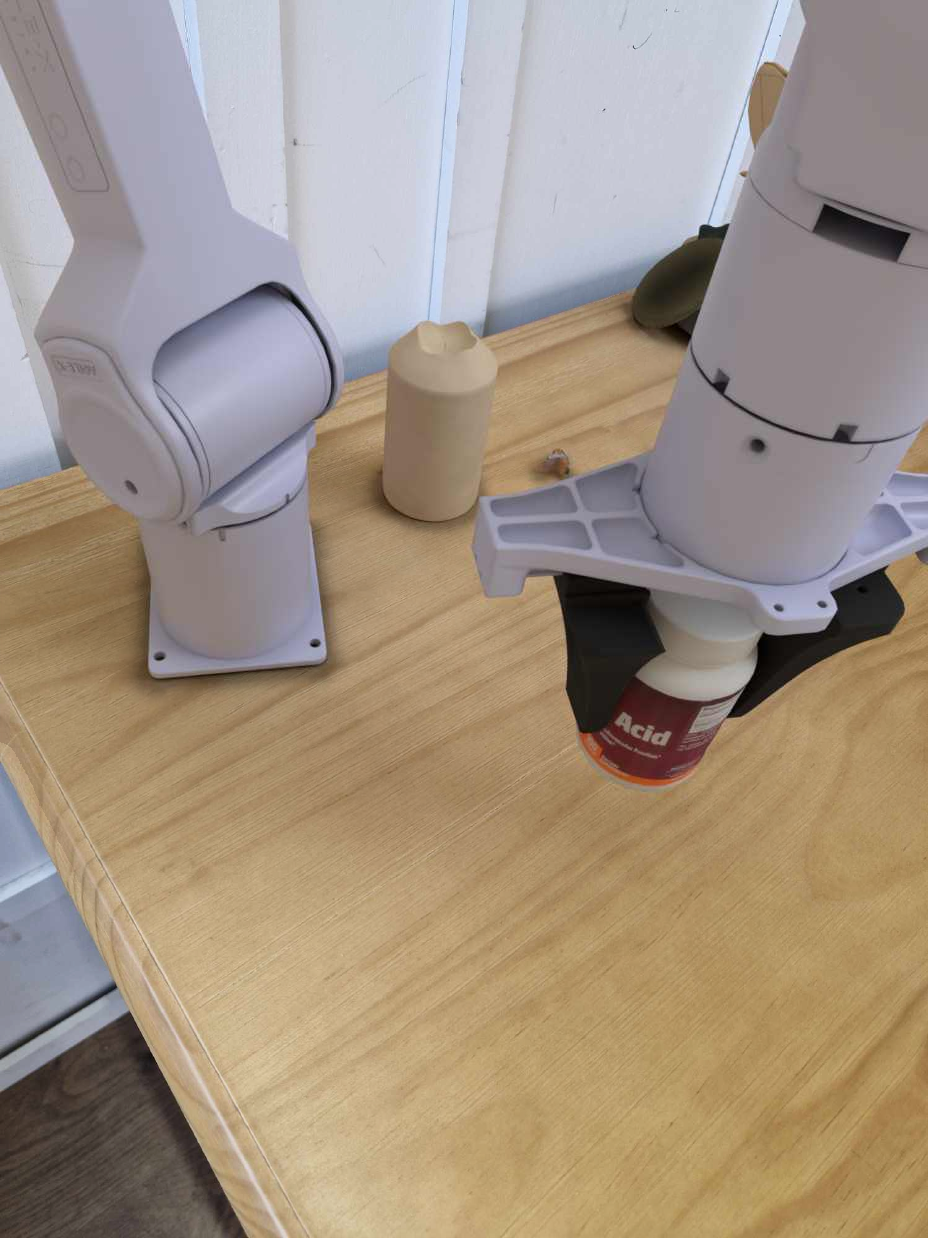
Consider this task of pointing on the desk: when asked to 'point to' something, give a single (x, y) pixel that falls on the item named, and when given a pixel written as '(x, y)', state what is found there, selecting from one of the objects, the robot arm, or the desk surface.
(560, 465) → the figurine
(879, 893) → the desk surface
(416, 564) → the desk surface
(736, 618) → the pill bottle
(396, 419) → the candle
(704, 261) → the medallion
